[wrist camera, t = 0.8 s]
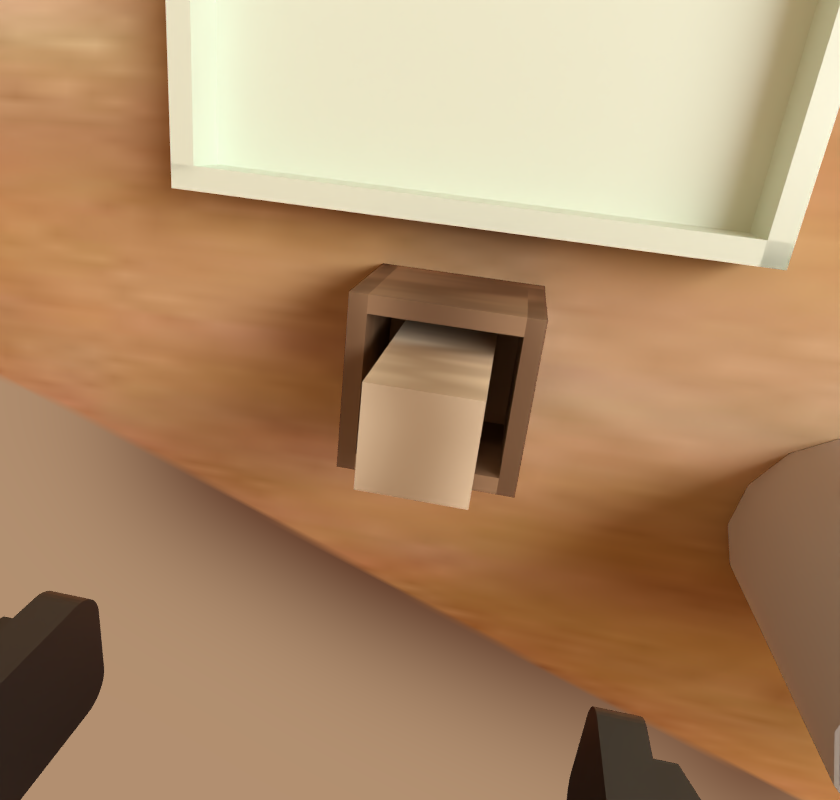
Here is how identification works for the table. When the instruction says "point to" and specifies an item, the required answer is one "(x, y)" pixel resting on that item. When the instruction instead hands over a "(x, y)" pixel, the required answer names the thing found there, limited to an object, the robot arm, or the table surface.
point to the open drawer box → (465, 308)
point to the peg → (425, 414)
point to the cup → (797, 581)
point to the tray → (516, 114)
